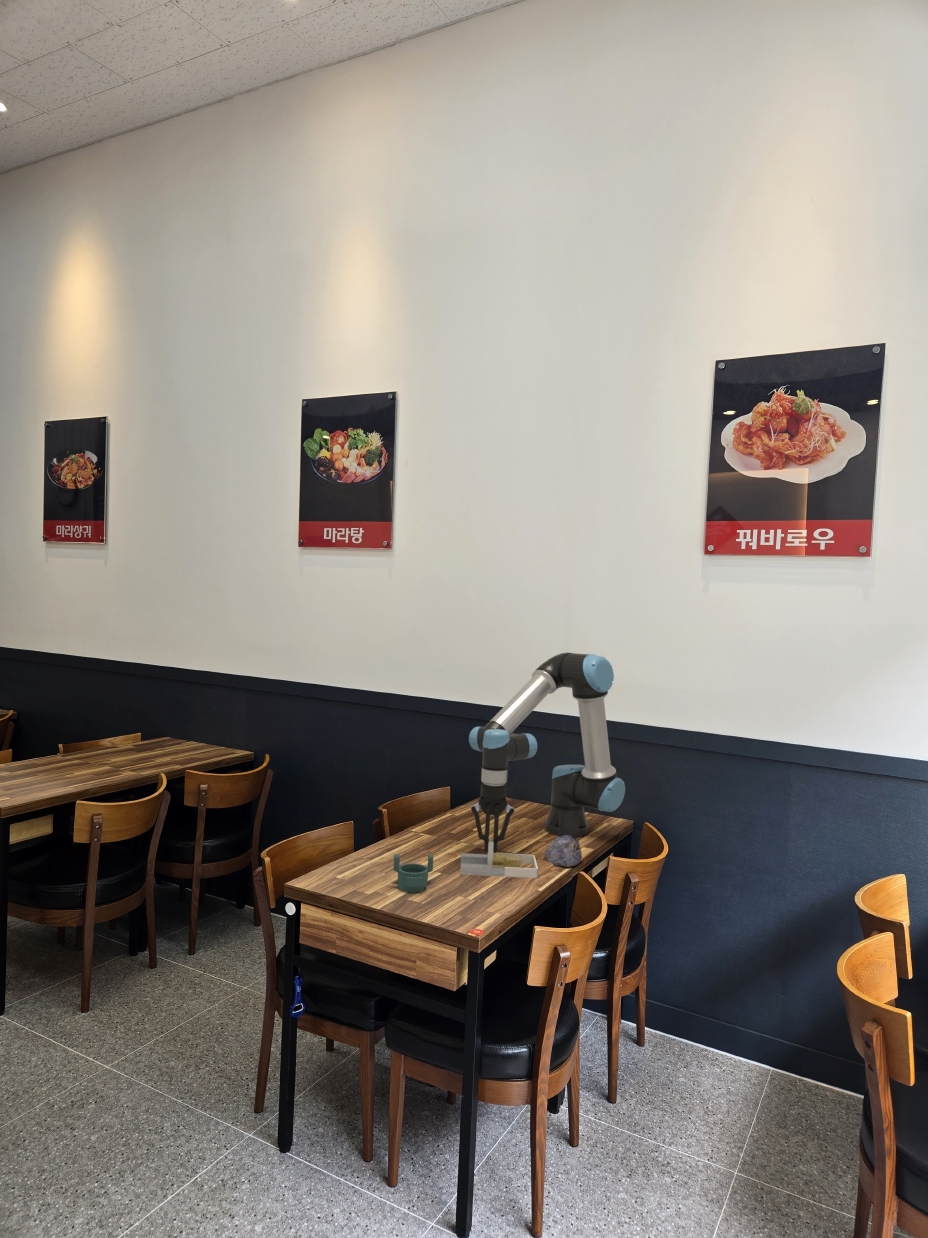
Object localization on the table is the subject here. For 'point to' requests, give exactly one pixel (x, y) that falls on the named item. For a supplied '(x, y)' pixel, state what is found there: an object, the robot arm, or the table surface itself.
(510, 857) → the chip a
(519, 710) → the robot arm
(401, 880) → the teal round pot
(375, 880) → the table surface
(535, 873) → the tray
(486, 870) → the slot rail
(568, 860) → the rock
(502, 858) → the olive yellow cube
